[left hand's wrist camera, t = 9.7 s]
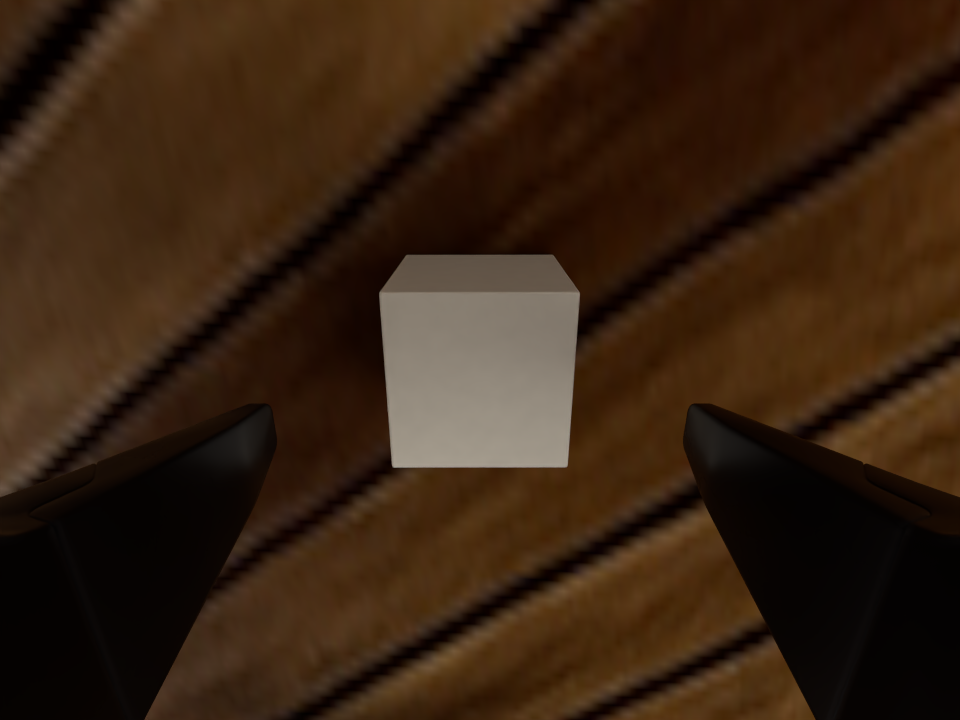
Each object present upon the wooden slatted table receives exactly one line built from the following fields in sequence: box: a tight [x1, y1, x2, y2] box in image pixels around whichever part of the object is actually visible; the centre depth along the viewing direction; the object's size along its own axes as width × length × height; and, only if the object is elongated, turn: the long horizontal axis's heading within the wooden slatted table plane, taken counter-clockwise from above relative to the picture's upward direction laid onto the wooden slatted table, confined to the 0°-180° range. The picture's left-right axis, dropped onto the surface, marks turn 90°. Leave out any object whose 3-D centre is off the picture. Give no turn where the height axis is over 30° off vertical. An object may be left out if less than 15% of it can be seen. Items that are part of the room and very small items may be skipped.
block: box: [379, 255, 580, 467], centre depth 16 cm, size 5×5×5 cm
